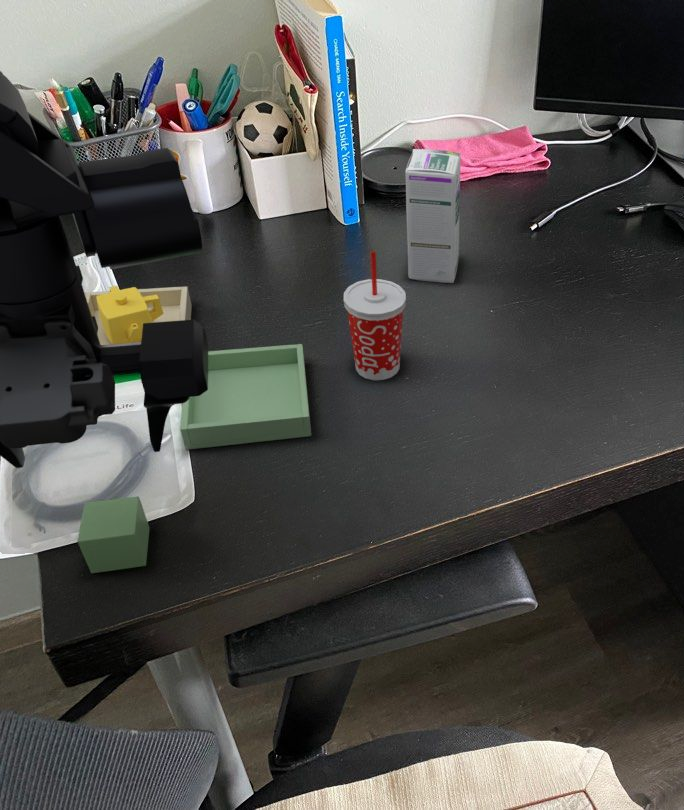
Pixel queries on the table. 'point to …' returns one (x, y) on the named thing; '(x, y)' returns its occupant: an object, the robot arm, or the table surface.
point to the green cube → (114, 534)
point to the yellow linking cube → (126, 313)
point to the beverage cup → (375, 324)
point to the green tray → (249, 398)
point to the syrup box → (433, 214)
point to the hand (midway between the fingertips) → (90, 455)
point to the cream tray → (150, 306)
